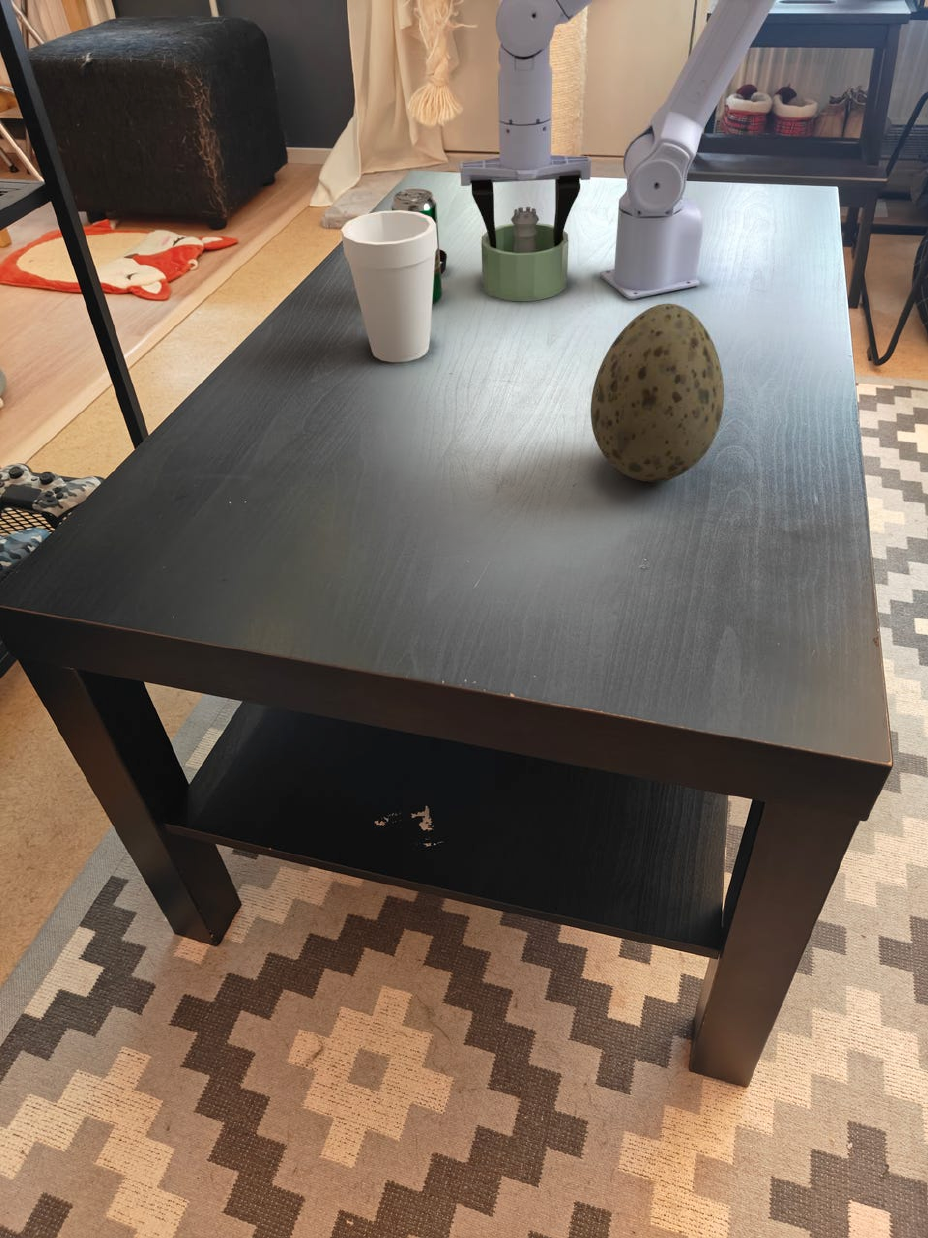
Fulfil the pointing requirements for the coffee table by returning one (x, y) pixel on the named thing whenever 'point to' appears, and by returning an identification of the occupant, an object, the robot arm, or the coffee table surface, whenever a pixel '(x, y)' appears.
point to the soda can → (426, 205)
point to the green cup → (524, 265)
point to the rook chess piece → (524, 230)
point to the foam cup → (393, 279)
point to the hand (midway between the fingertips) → (525, 245)
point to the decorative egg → (658, 395)
